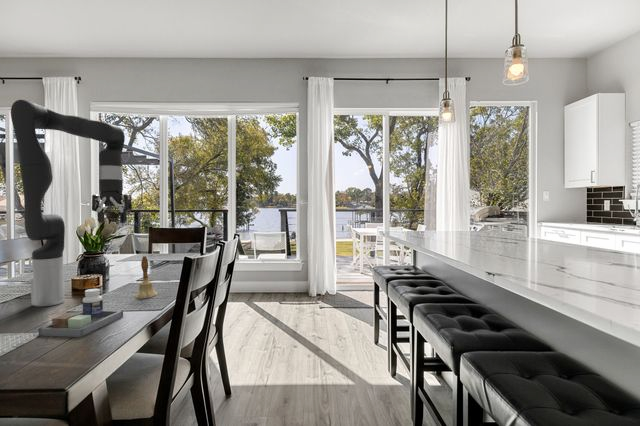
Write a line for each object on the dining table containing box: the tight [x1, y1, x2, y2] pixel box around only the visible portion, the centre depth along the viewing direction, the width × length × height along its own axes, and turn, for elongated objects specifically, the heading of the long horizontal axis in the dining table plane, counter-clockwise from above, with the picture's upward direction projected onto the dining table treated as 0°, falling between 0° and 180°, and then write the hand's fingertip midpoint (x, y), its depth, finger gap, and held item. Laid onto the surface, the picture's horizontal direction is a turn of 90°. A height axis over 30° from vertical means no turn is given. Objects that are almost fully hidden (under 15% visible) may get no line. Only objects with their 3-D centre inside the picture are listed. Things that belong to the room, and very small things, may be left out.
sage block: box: [68, 315, 91, 329], centre depth 108 cm, size 4×4×4 cm
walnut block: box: [51, 313, 76, 328], centre depth 108 cm, size 4×4×4 cm
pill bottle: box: [81, 288, 104, 323], centre depth 116 cm, size 5×5×10 cm
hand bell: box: [134, 255, 158, 299], centre depth 149 cm, size 8×8×16 cm
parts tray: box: [37, 309, 124, 338], centre depth 112 cm, size 13×18×2 cm
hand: (112, 222), depth 137 cm, fingers open, 8 cm apart
